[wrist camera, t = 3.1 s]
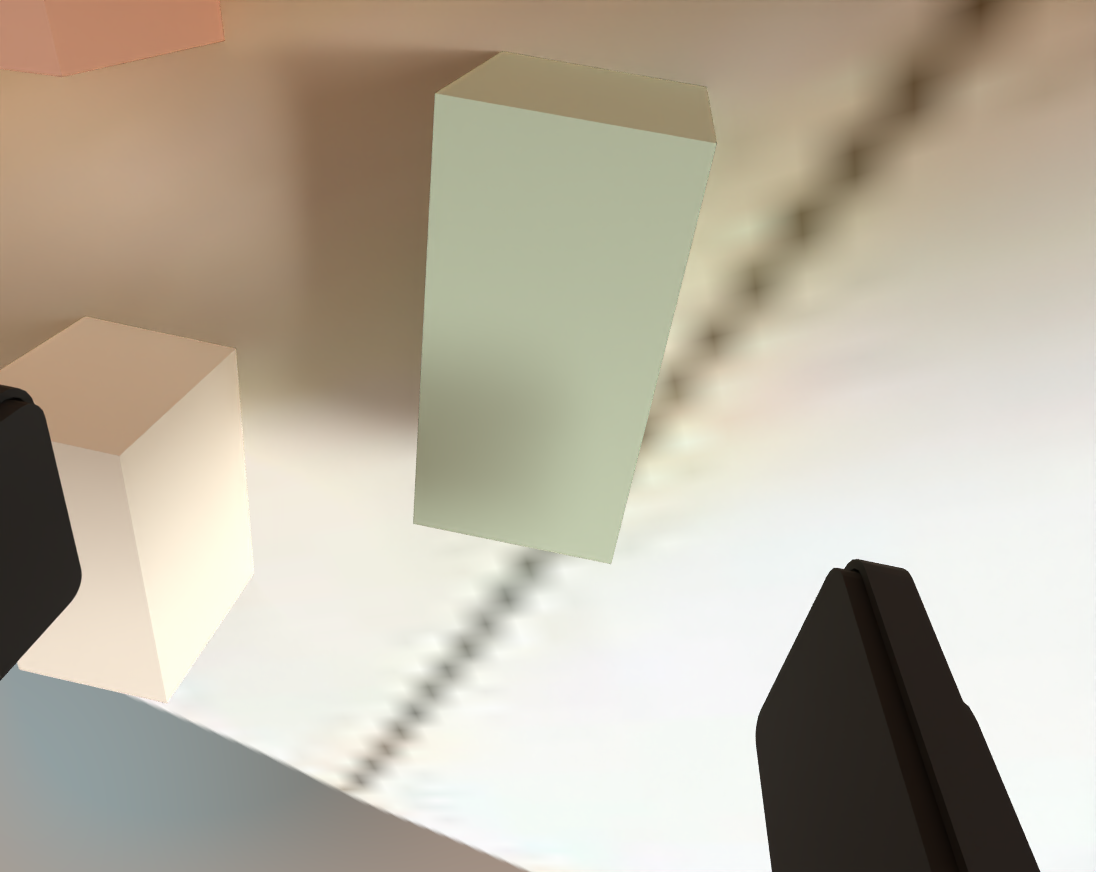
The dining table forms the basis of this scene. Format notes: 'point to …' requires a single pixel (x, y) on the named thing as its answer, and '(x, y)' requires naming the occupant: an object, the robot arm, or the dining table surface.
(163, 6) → the terracotta brick
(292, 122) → the dining table surface
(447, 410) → the sage brick
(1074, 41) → the dining table surface
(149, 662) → the cream brick
